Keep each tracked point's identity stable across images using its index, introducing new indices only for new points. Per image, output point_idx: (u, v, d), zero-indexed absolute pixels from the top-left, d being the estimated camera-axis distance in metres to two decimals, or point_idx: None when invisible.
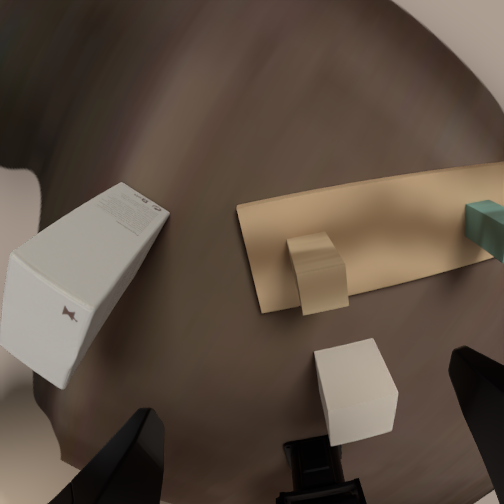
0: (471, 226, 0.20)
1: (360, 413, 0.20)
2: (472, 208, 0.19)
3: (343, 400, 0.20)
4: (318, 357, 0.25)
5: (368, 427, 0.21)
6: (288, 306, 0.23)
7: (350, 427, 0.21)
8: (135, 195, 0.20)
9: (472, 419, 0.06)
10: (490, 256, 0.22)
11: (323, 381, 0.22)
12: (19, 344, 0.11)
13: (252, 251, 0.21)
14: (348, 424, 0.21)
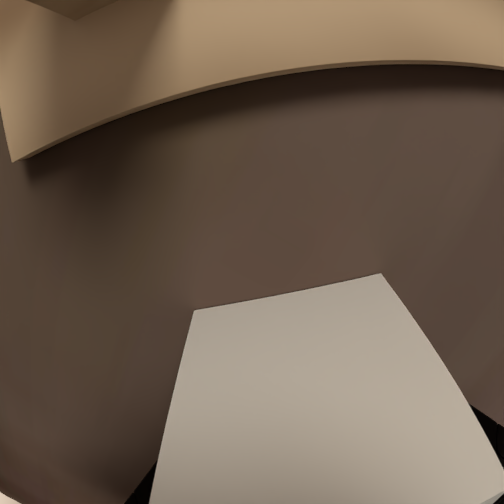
0: None
1: None
2: None
3: None
4: (198, 326, 0.08)
5: None
6: (67, 128, 0.06)
7: None
8: None
9: None
10: None
11: (177, 412, 0.05)
12: None
13: (1, 2, 0.04)
14: None
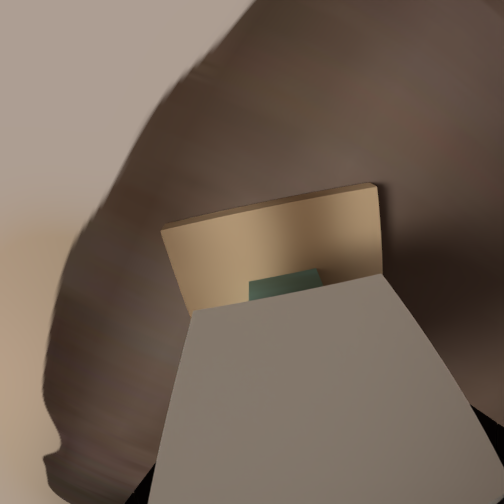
0: None
1: None
2: None
3: None
4: (198, 326, 0.08)
5: None
6: None
7: None
8: None
9: None
10: (377, 238, 0.12)
11: (176, 414, 0.05)
12: None
13: None
14: None
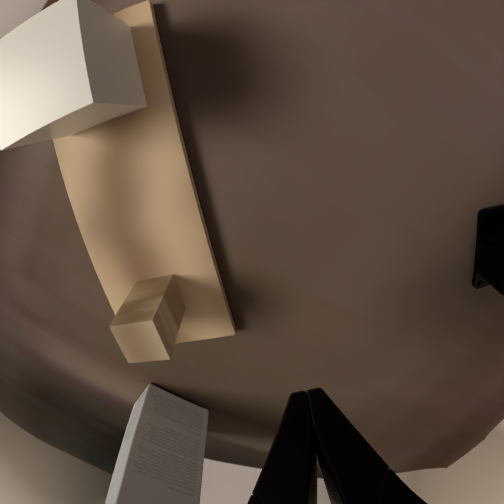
0: None
1: (23, 46, 0.08)
2: None
3: None
4: None
5: (41, 85, 0.09)
6: (225, 311, 0.21)
7: (15, 86, 0.09)
8: (136, 403, 0.24)
9: (321, 468, 0.07)
10: (151, 28, 0.14)
11: None
12: None
13: None
14: (11, 78, 0.09)
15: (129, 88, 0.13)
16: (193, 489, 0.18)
